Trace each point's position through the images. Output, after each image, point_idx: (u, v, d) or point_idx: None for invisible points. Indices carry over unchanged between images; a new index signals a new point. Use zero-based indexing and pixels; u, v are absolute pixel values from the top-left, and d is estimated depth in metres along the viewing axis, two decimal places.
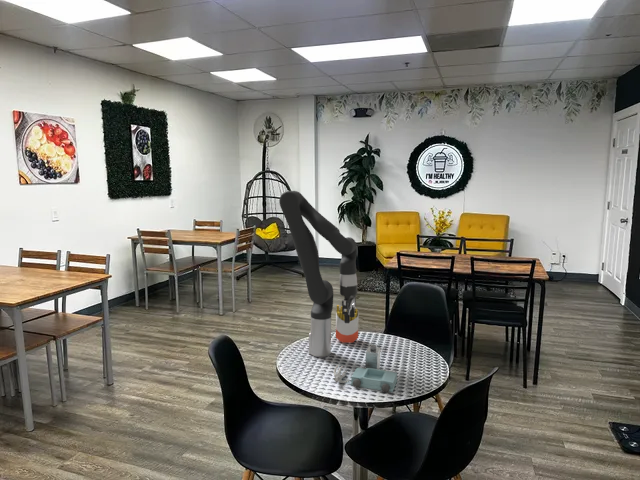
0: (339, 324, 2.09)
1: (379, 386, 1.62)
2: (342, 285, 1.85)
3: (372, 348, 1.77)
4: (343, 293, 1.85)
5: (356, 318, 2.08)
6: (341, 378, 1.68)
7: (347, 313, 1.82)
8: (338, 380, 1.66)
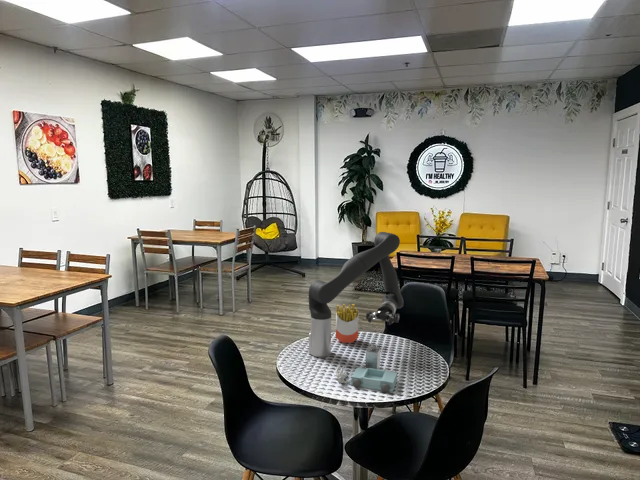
0: (339, 324, 2.09)
1: (379, 386, 1.62)
2: (393, 307, 2.01)
3: (372, 348, 1.77)
4: (392, 310, 1.98)
5: (356, 318, 2.08)
6: (343, 378, 1.68)
7: (397, 322, 1.90)
8: (341, 380, 1.66)
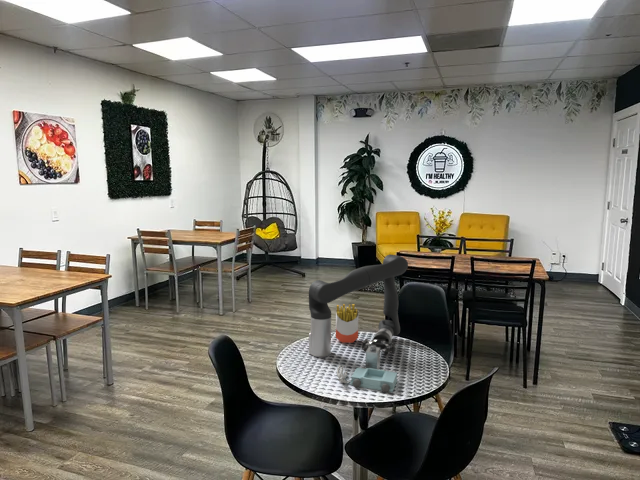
0: (339, 324, 2.09)
1: (379, 386, 1.62)
2: (389, 336, 1.97)
3: (372, 348, 1.77)
4: (389, 339, 1.94)
5: (356, 318, 2.08)
6: (344, 378, 1.68)
7: None
8: (342, 381, 1.66)
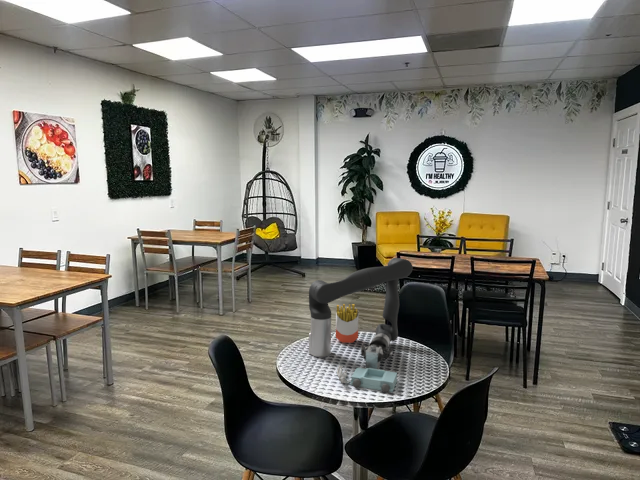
0: (339, 324, 2.09)
1: (379, 386, 1.62)
2: (387, 341, 1.90)
3: (372, 348, 1.77)
4: (386, 345, 1.87)
5: (356, 318, 2.08)
6: None
7: (387, 358, 1.79)
8: None
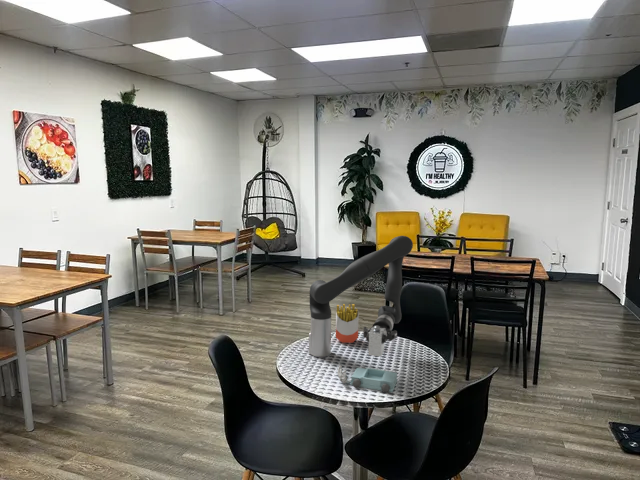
0: (339, 324, 2.09)
1: (379, 386, 1.62)
2: (390, 322, 1.79)
3: (376, 329, 1.65)
4: (390, 326, 1.76)
5: (356, 318, 2.08)
6: None
7: (391, 340, 1.67)
8: None
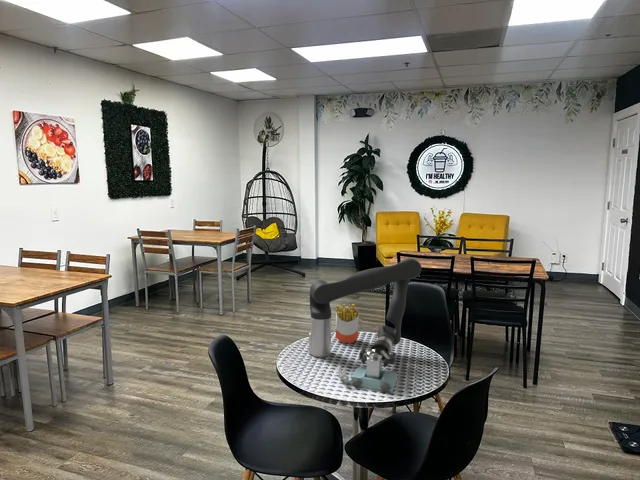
0: (339, 324, 2.09)
1: (379, 386, 1.62)
2: (389, 345, 1.79)
3: (373, 356, 1.66)
4: (388, 349, 1.76)
5: (356, 318, 2.08)
6: None
7: (393, 363, 1.68)
8: None
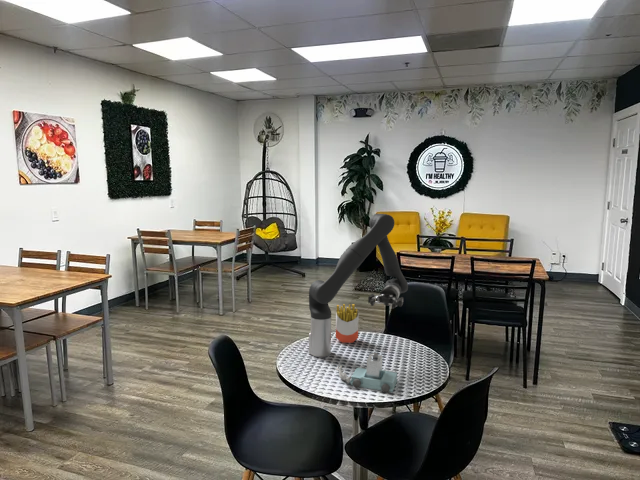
0: (339, 324, 2.09)
1: (379, 386, 1.62)
2: (397, 291, 1.90)
3: (373, 356, 1.66)
4: (396, 294, 1.87)
5: (356, 318, 2.08)
6: None
7: (401, 306, 1.79)
8: None
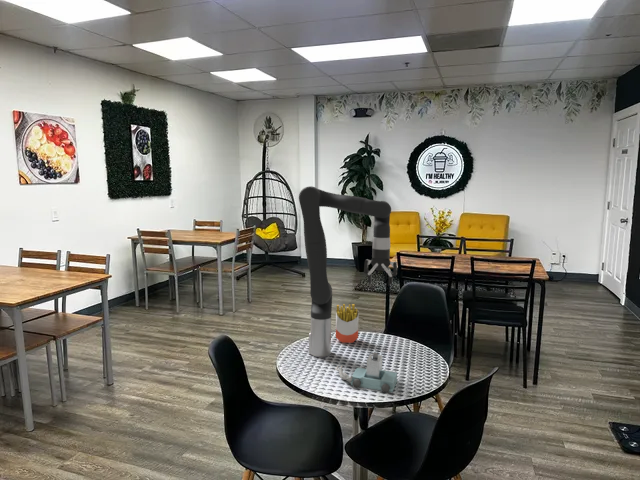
0: (339, 324, 2.09)
1: (379, 386, 1.62)
2: (387, 249, 1.84)
3: (373, 356, 1.66)
4: (388, 256, 1.85)
5: (356, 318, 2.08)
6: None
7: None
8: None
